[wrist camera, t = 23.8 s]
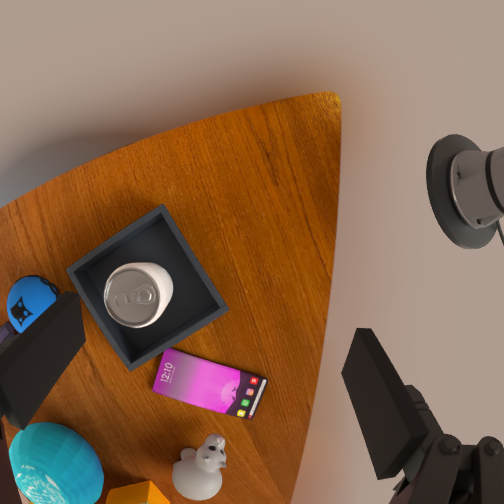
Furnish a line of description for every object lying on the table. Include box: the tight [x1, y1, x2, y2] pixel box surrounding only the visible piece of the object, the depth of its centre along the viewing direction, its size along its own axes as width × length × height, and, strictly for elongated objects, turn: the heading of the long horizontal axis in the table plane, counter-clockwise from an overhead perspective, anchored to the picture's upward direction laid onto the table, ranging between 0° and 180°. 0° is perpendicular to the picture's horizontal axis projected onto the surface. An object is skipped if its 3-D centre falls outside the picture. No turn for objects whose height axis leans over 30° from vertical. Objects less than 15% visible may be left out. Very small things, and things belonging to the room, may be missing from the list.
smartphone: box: [152, 348, 268, 420], centre depth 40 cm, size 7×15×1 cm, turn 70°
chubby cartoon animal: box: [172, 434, 226, 500], centre depth 36 cm, size 7×12×8 cm, turn 150°
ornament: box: [7, 275, 60, 334], centre depth 32 cm, size 9×9×10 cm
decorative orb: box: [9, 422, 104, 504], centre depth 29 cm, size 15×15×15 cm
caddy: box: [66, 203, 229, 372], centre depth 37 cm, size 15×15×6 cm
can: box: [104, 263, 173, 328], centre depth 33 cm, size 6×6×12 cm
